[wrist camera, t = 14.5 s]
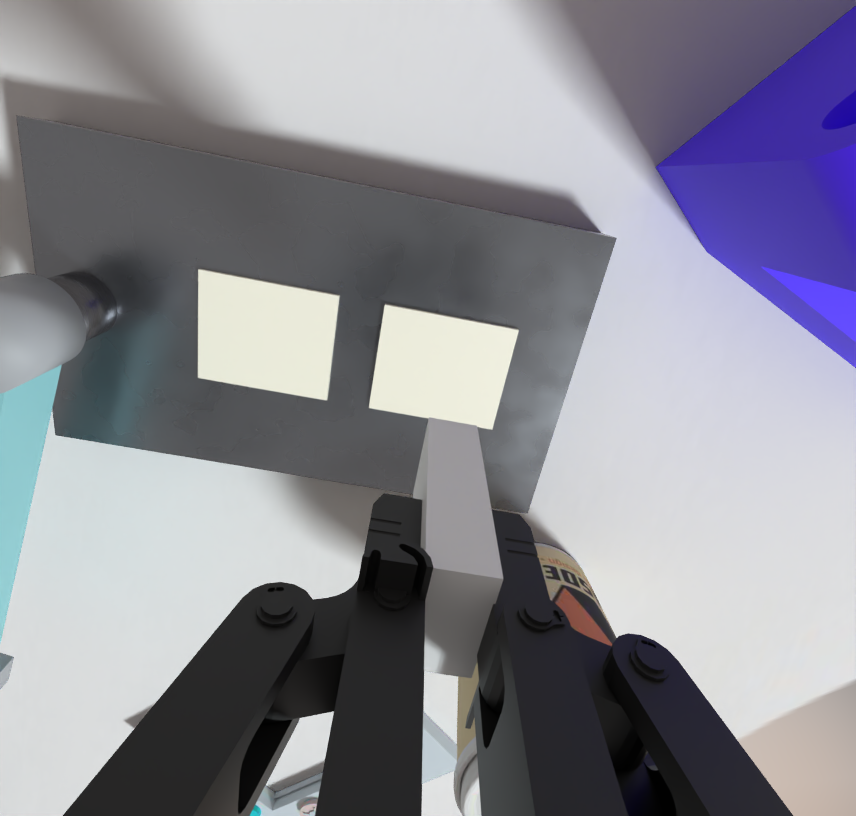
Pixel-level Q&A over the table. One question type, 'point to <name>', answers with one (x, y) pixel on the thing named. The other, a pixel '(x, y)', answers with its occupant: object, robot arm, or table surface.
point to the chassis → (300, 267)
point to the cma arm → (27, 404)
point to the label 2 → (441, 366)
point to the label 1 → (265, 334)
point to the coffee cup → (563, 589)
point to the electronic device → (296, 805)
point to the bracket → (785, 187)
